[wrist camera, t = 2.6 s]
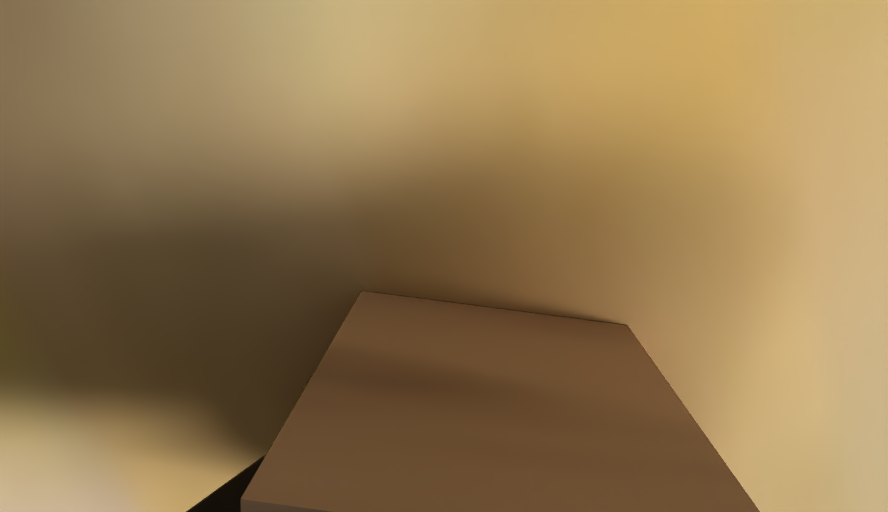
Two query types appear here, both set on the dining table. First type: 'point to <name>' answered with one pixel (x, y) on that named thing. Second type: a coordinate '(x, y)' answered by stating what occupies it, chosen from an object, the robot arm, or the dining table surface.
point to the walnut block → (488, 420)
